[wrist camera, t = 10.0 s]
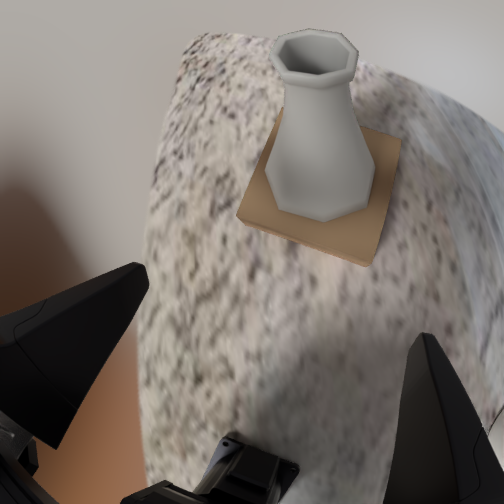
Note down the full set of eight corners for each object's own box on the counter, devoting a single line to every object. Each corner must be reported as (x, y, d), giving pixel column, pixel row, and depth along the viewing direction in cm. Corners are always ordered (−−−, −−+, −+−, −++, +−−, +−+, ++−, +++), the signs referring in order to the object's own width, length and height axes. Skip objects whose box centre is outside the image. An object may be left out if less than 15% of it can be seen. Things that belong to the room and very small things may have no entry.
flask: (265, 128, 19) (222, 17, 9) (366, 124, 17) (384, 8, 7) (264, 225, 17) (202, 141, 8) (381, 223, 16) (443, 134, 6)
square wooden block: (364, 268, 18) (372, 262, 16) (247, 227, 21) (235, 215, 18) (393, 159, 19) (401, 139, 16) (287, 128, 22) (282, 107, 19)
